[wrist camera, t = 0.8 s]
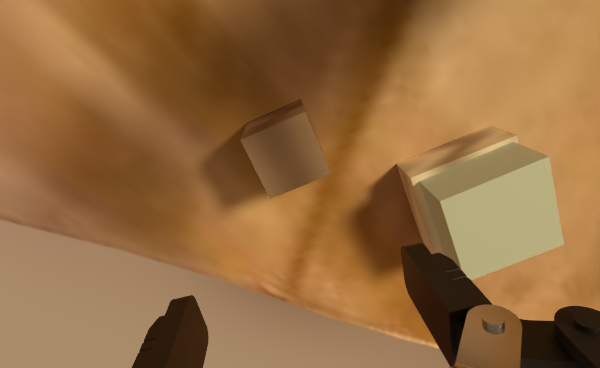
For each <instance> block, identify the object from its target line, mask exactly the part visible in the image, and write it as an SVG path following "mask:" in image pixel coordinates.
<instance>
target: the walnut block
mask: <svg viewBox="0 0 600 368" xmlns="http://www.w3.org/2000/svg"><path fill="white" fill-rule="evenodd" d="M240 141H241V143H242V145H243V147H244V149H245V151H246V153H247V155H248V157H249V159H250V161H251V163H252V165H253V167H254V169H255V171H256V172H257V174H258V176H259V178H260V180H261V182H262V184H263V186H264V188H265V190H266V192H267V194H268V196H269V198H270V199H271V198H274V197H276V196H278V195H281V194H283V193H286V192H288V191H291V190H293V189H295V188H298V187H300V186H303V185H305V184H308V183H310V182H312V181H315V180H317V179H320V178H322V177H325V176H327V175H329V174H331V172H330V170H329V167H328V165H327V162H326V160H325V157H324V155H323V152H322V150H321V147H320V145H319V143H318V140H317V138H316V135H315V133H314V131H313V128H312V126H311V123H310V121H309V118H308V116H307V114H306V111H305V109H304V106H303V104H302V102H301V99H300V100H298V101H295V102H293V103H291V104H289V105H286V106H284V107H282V108H279V109H277V110H275V111H273V112H270V113H268V114H266V115H264V116H261V117H259V118H257V119H254V120H252V121H250V122H248V123H247V125H246V127H245V129H244V132H243V134H242V137H241V139H240Z"/></svg>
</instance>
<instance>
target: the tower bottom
mask: <svg viewBox="0 0 600 368" xmlns="http://www.w3.org/2000/svg"><path fill="white" fill-rule="evenodd" d="M511 142H515V143H518V138H517V135H515V134H512V133H510V132H507V131H504V130H502V129H499V128H496V127H494V126H491V125H490V126H488V127H485V128H483V129H480V130H478V131H475V132H473V133H471V134H468V135H466V136H463V137H461V138H458V139H456V140H453V141H451V142H449V143H446V144H444V145H441V146H439V147H436V148H434V149H431V150H429V151H427V152H424V153H422V154H419V155H417V156H414V157H412V158H409V159H407V160H405V161H402V162H400V163H397V164H396V165H397V168H398V171H399V174H400V177H401V180H402V183H403V186H404V189H405V192H406V195H407V198H408V201H409V204H410V207H411V210H412V213H413V216H414V219H415V222H416V225H417V228H418V231H419V234H420V237H421V240H422V241H423V243H424V244H425V245H426V247H427V248H428V249H429V251H430V252H431V254H435V253H441V254H443V255H444V253H443V250H442V247H441V244H440V241H439V238H438V235H437V233H436V230H435V227H434V224H433V221H432V218H431V215H430V212H429V209H428V206H427V203H426V200H425V197H424V194H423V191H422V188H421V185H420V182H419V181H421V180H423V179H426V178H428V177H430V176H433V175H435V174H437V173H440V172H442V171H445V170H447V169H449V168H452V167H454V166H456V165H459V164H461V163H463V162H466V161H468V160H471V159H473V158H475V157H478V156H480V155H482V154H485V153H487V152H489V151H492V150H494V149H497V148H499V147H501V146H504V145H506V144H508V143H511Z"/></svg>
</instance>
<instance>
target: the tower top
mask: <svg viewBox="0 0 600 368" xmlns="http://www.w3.org/2000/svg"><path fill="white" fill-rule="evenodd" d="M419 182H420V185H421V188H422V191H423V194H424V197H425V200H426V203H427V206H428V209H429V212H430V215H431V218H432V221H433V224H434V227H435V230H436V233H437V235H438V238H439V241H440V244H441V247H442V250H443V253H444V255H445V256H447V257H449V258H451V259H452V260H453V261H454V262H455V263H456V264H457V265H458V266H459V268H460V270H462V271H463V272H464V273H465V274H466V275H467V278H469V279H470V280H473V279H476V278H478V277H481V276H483V275H486V274H489V273H491V272H494V271H496V270H499V269H502V268H504V267H507V266H510V265H512V264H515V263H517V262H520V261H523V260H525V259H528V258H530V257H533V256H536V255H538V254H541V253H543V252H546V251H549V250H551V249H554V248H556V247H559V246H562V245H564V243H563V237H562V231H561V225H560V219H559V213H558V207H557V201H556V195H555V189H554V183H553V177H552V172H551V166H550V160H549V156H547V155H544V154H542V153H539V152H537V151H535V150H532V149H530V148H527V147H525V146H522V145H520V144H518V143H515V142H511V143H508V144H506V145H504V146H501V147H499V148H497V149H494V150H492V151H489V152H487V153H485V154H482V155H480V156H478V157H475V158H473V159H471V160H468V161H466V162H463V163H461V164H459V165H456V166H454V167H452V168H449V169H447V170H445V171H442V172H440V173H437V174H435V175H433V176H430V177H428V178H426V179H423V180H421V181H419Z"/></svg>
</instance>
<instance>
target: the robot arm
mask: <svg viewBox="0 0 600 368" xmlns="http://www.w3.org/2000/svg"><path fill="white" fill-rule="evenodd" d="M401 255H402V263H403V271H404V279H405V284H406V288H407V291H408V293H409V296H410V298H411V299H412V301H413V303H414V305H415V306H416V308H417V310H418V312H419V313H420V315H421V317H422V319H423V320H424V322H425V324H426V325H427V327H428V329H429V331H430V332H431V334H432V336H433V338H434V339H435V341H436V343H437V344H438V346H439V348H440V350H441V351H442V353H443V355H444V357H445V358H446V360H447V362H448V363H449V365H450V367H449V368H600V311H597V310H594V309H591V308H587V307H581V306H568V307H564V308H561V309H559V310H558V311H557V312H556V313H555V316H554V321H533V320H522V319H519V318H518V317H517V316H516V315H515V314H514V313H512V312H511V311H509V310H507V309H505V308H503V307H500V306H496V305H492V303H491V302H490V301H489V300H488V299H487V298H486V297H485V296H484V294H483V293H482V292H481V291H480V290H479V289H478V288H477V287H476V286H475V284H474V283H473V282H472V281H471V280H470V279H469V278H467V275H466V274H465V273H464V272H463V271H462V270H460V268H459V266H458V265H457V264H456V263H455V262H454V261H453V260H452V259H451V258H449V257H447V256H445V255H443V254H441V253H435V254H431V253H430V252H429V251H428V250H427V248H426V247H425V246H424V245H423V244H422V243H417V244H413V245H408V246H404V247H402V248H401ZM207 346H208V330H207V326H206V324H205V321H204V319H203V316H202V314H201V311H200V309H199V306H198V304H197V302H196V299H195V297H194V296H192V295H191V296H186V297H182V298H178V299H173V300H172V301H171V302H170V304H169V307H168V309H167V312H166V314H165V316H161V317H159V318H158V319H157V320H156V321H155V322H154V324H153V325H152V326H151V327H150V328H149V330H148V333H147V335H146V337H145V339H144V343H143V344H142V346H141V348H140V353H138V355H137V357H136V360H135V362H134V364H133V366H132V368H203V364H204V359H205V355H206V350H207Z"/></svg>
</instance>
